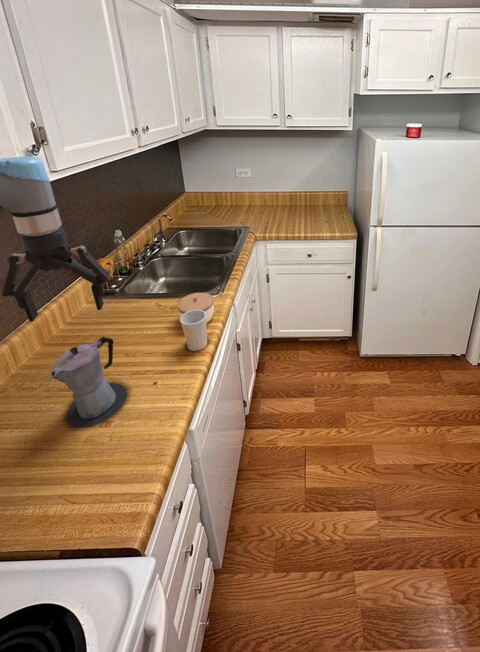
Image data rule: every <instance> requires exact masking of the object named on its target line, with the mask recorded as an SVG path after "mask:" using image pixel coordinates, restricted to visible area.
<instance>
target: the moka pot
mask: <svg viewBox="0 0 480 652" xmlns="http://www.w3.org/2000/svg"><path fill="white" fill-rule="evenodd" d="M105 343H108V345H107V348H108V360H107V363H106V364H105V365H102V361H101V360H102V359H101V355H100V351H99V349H100V348H102V347H103V345H104V344H105ZM113 355H114V338H110V337H106V336H102V337H100V338H99V339H98V340H95V341H94V342H92V343H91V344H87V343H86V344H80V345H78V346H74V347H71V348H70V349H68V350H66V351H64V353H62V355H61V356H60V357H59V358H58V359H56V360H55V361H54V366H55V367H54V368H53V369H52V370H51V371H50V373H49V375H48V378H49V379H50V380H51V379H55V380H58V381H59V382H61V383H63V384H65V385H66V387H67V388H68V390H70V391H71V392H72V399H74V401H75V402H76V407H77V411H78V413H79V415H80V416H81V417H82V418H94V417H96V416H99V415H101V414H103V413H104V412H106V411H107V410H108V409H109V408H110V407H111V406H112V405H113V403H114V401H115V398H116V394H115V393H114V391H113V389H112V388H111V387H110V385H109V383H110V382H108V380H107V379H106V377H105V376H104V370H107V369H108V368H109V367H111V366H112V365H113V358H114V357H113ZM103 369H104V370H103Z"/></svg>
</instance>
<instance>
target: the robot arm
mask: <svg viewBox="0 0 480 652" xmlns="http://www.w3.org/2000/svg"><path fill="white" fill-rule="evenodd" d="M50 181H51V180H50V177H49V176H48V173H47V170H46V168H45V165H44V162H43V160H42V159H40V158H38V157H36V156H13V157H4V158H0V209H6V208H8V209H9V212H10V213H11V216H12V218H13V222H14V225H15V228H16V232H17V233H19V234H20V235H19V240H20V242H21V245H22V248H23V250H24V252H25V253H20V252H19V251H14V252H13V253H12V254H11V255H9V257H8V259H7V260H8V264H9V268H8V271H7V275H6V279H5V280H4V281H5V282H4V285H3V289H2V292H1V295H2V296H3V297H8V296H9V297H14V298H15V301H16V303H17V306H18V308H19V309H21V310H22V309H24V311H25V314H26V317H27V319H28V321H29V323H31V322H34V321H35V320H36V318H37V317H38V315H39V313H38V310H37V307H36V304H35V301H34V299H33V296H32V293H31V290H27V288H28V287H29V285H30V284H31V282H32V281H33V280H34V279H35V277H36V275H37V274H38V272H39V271H40V270H41V271H43V272H47V271H52V270H54V271H57V270H61V269H64V270H66V271H70V272H72V273H74V274H76V275H77V276H79V277H80V278H81V279H84V280H86V281H87V282H89V283H90V284H91V286H90V289H91V292H92V296H93V300H94V303H95V306H96V310H97V311H101V310H102V309H103V306H104V304H105V303H104V299H103V296H104V294H105V292H106V290H105V286H104V283H107V282H108V281H109V278H110V277H111V273H110V272H108V270H107V269H105V268H104V266H103V265H102V264H101V263H100V262H98V261H97V259H96V258H94V256H93V255H92V254H91V253H89V250H88V248H87V246H86V244H80V245H79V246H76V247H70V245H69V244H68V239H67V234H66V232H65V229H64V227H62V225H63V223H62V219H61V216H60V212H59V208H58V207H57V203H56V198H55V195H54V192H53V188H52V185H51V182H50ZM72 255H75V257H77V258H79V259H80V260H81V262H82V263H83V264H84V265H82V264H81V263H79V262H78V261H77V260H76V258H73V257H72ZM25 261H26V262H27V263H29V264H31V265H32V267H30V269H29V271H28V272H27V274H26V275H25V277H24V278H23V279H22V281H21V282H20V284H19V285H18V287H16V284H17V280H18V277H19V274H20V270H21V267H22V264H23V263H24V262H25Z"/></svg>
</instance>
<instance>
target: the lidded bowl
mask: <svg viewBox="0 0 480 652" xmlns="http://www.w3.org/2000/svg"><path fill="white" fill-rule="evenodd" d="M214 302H215V300H214V296H213V295H212V294H210V293H207V292H194V293H190V294H187V295H185V296H184V297H182V298H181V299H180V300H179V301H178V302H177V310H178V314H179V317H180V318H181V316H182V315H183V314H184V313H186V312H188V311H191V310H202V311H204V312H205V313H206V324H208V323H209V322H210V321H211V319H212V318H213V315H214V311H215V304H214Z"/></svg>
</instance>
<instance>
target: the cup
mask: <svg viewBox="0 0 480 652" xmlns="http://www.w3.org/2000/svg"><path fill="white" fill-rule="evenodd" d="M179 323H180V325H181V328H182V331H183V335H184V338H185V342H186V345H187V349H188V350H189V351H193V352H196V351H199V350H203V349H204V348H206V346H207V344H208V335H207V333H208V332H207V323H206V313H205V312H204V311H202V310H191V311H188V312H186V313H184V314H183V315H182V316H181V317H180V318H179Z"/></svg>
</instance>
